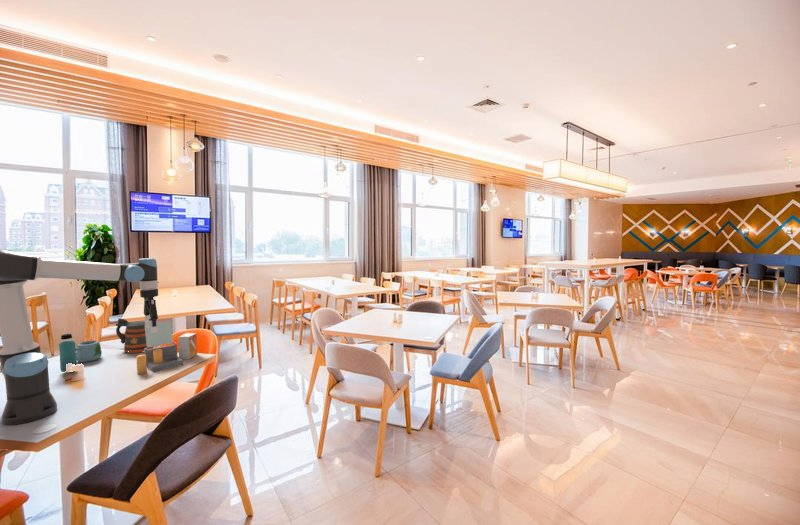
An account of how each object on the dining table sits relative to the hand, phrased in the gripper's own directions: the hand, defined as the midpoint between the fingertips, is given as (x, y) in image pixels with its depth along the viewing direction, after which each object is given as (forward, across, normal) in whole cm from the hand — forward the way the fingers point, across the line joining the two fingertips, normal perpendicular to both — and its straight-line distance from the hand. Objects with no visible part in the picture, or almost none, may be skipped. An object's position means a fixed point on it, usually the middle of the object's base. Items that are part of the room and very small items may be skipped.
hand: (151, 330), depth 183 cm
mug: (+22, +46, +23) cm, 56 cm away
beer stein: (+22, +50, 0) cm, 55 cm away
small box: (+22, +14, -19) cm, 33 cm away
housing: (+22, +8, -6) cm, 24 cm away
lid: (+7, +17, -6) cm, 19 cm away
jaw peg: (+22, +3, +4) cm, 23 cm away
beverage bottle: (+22, +30, +31) cm, 48 cm away
